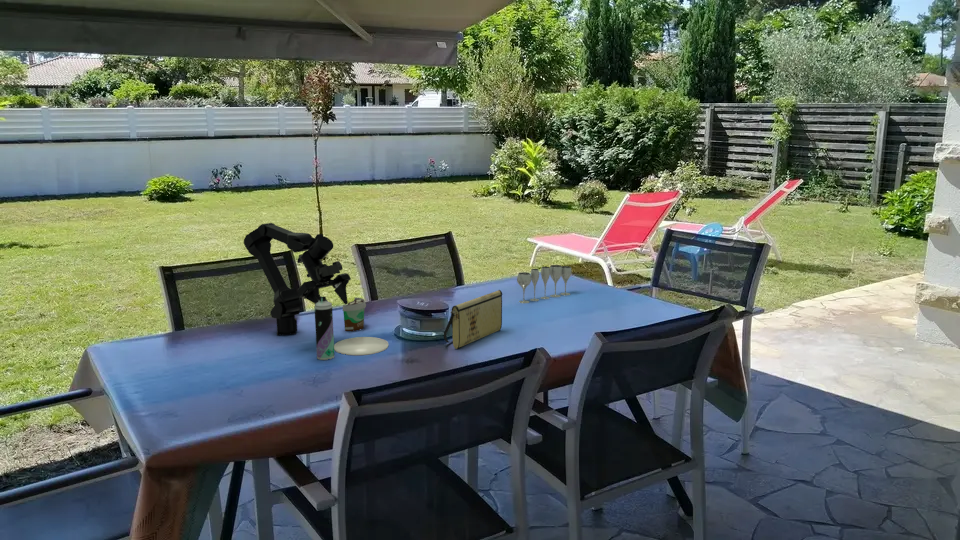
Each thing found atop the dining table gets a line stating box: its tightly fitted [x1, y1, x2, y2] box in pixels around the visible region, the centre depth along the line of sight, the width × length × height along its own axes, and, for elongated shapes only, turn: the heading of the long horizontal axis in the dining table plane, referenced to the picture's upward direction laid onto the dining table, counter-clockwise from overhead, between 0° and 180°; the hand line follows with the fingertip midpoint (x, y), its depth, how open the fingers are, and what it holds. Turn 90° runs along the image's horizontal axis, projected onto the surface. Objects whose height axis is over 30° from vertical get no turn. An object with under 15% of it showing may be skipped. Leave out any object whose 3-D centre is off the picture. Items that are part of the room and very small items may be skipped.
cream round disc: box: [334, 336, 389, 356], centre depth 243 cm, size 18×18×1 cm
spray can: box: [313, 295, 335, 361], centre depth 231 cm, size 6×6×20 cm
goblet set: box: [516, 264, 572, 304], centre depth 305 cm, size 28×6×13 cm, turn 125°
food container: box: [342, 297, 367, 332], centre depth 263 cm, size 12×6×10 cm, turn 168°
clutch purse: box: [443, 289, 503, 350], centre depth 250 cm, size 30×7×15 cm, turn 145°
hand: (336, 306), depth 240 cm, fingers open, 9 cm apart
